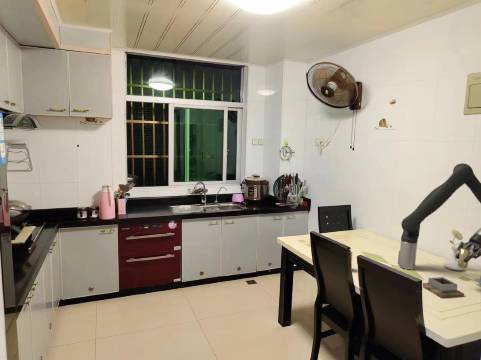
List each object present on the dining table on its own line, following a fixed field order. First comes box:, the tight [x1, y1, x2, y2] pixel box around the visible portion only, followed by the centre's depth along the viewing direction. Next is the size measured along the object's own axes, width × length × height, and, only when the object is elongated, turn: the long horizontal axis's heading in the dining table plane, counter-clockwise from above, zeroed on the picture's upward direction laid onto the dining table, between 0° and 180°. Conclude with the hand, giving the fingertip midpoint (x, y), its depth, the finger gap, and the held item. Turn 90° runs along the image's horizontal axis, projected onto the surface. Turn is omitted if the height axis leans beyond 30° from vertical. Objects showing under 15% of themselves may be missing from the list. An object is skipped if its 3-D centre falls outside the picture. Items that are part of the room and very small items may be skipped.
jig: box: [422, 276, 465, 299], centre depth 174 cm, size 14×14×6 cm
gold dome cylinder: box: [457, 248, 470, 269], centre depth 177 cm, size 4×4×10 cm
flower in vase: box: [442, 228, 465, 271], centre depth 206 cm, size 13×11×25 cm
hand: (460, 259), depth 177 cm, fingers closed on gold dome cylinder, 4 cm apart
